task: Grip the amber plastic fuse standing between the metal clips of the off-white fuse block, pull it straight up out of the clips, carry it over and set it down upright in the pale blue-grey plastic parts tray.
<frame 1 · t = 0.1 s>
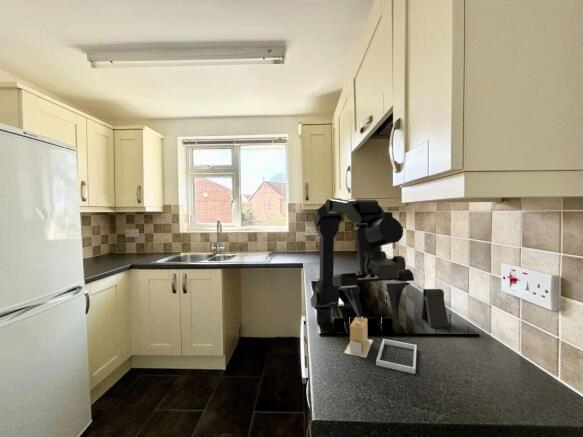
hand: (377, 315, 63), 15 cm above the worktop, tool pointing down, fingers open, 9 cm apart
parts tray: (397, 359, 73), on the worktop
phone stand: (433, 323, 97), on the worktop
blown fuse: (359, 346, 78), point 1 cm above the worktop, touching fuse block
external hard drive: (327, 304, 119), on the worktop
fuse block: (359, 348, 78), on the worktop
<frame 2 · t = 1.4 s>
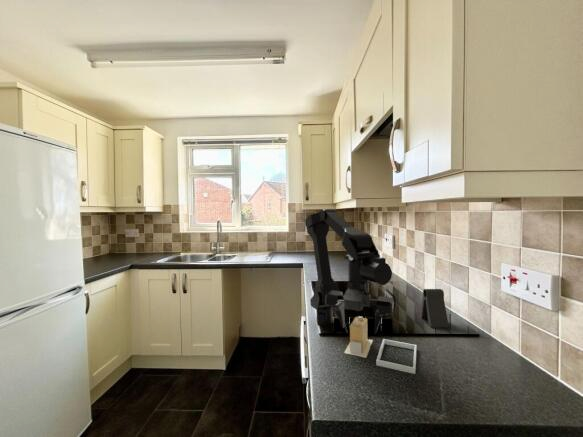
hand: (358, 330, 78), 5 cm above the worktop, tool pointing down, fingers open, 9 cm apart
nothing on the worktop moved.
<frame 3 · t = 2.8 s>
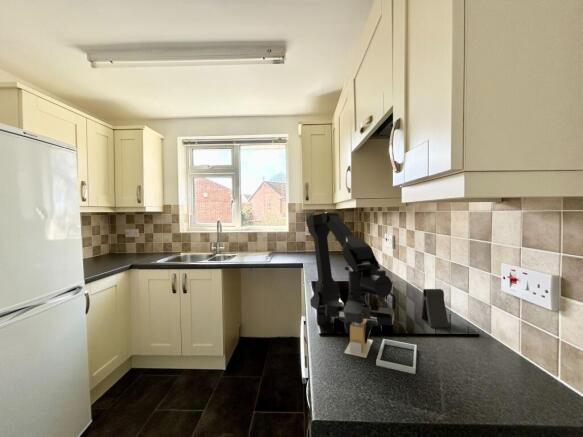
hand: (359, 341, 78), 2 cm above the worktop, tool pointing down, fingers closed on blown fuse, 3 cm apart
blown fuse: (359, 346, 78), point 1 cm above the worktop, touching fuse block, gripper
everything else where it was.
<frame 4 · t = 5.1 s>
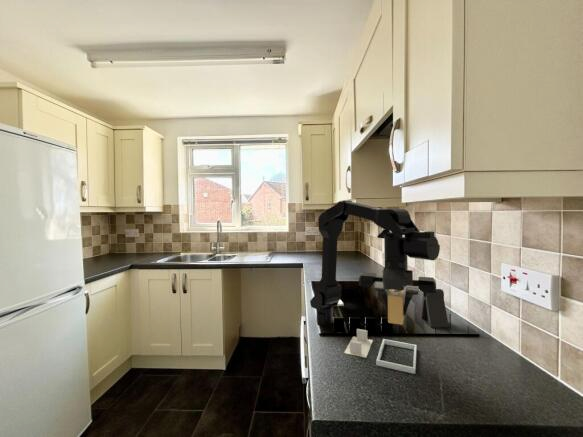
hand: (396, 314, 72), 12 cm above the worktop, tool pointing down, fingers closed on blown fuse, 3 cm apart
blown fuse: (396, 319, 72), point 11 cm above the worktop, touching gripper
everything else where it was.
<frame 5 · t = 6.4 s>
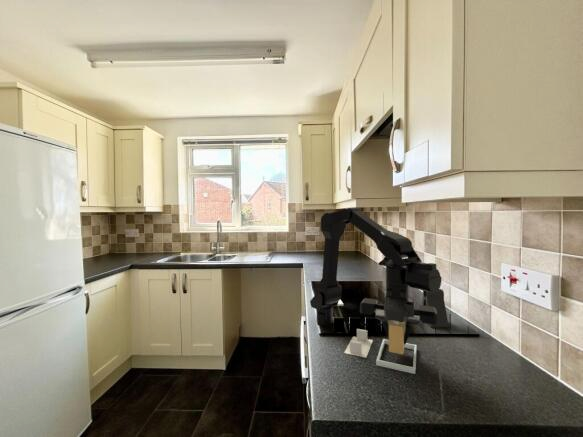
hand: (397, 342, 73), 5 cm above the worktop, tool pointing down, fingers closed on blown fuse, 3 cm apart
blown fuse: (397, 346, 72), point 3 cm above the worktop, touching gripper
everything else where it was.
when the fingers open (3 cm above the worktop, at t = 7.4 s): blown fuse drops 1 cm, resting on parts tray.
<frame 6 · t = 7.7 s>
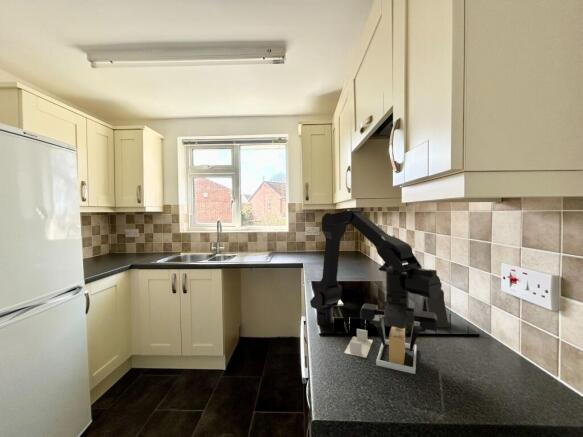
hand: (397, 347, 73), 3 cm above the worktop, tool pointing down, fingers open, 6 cm apart
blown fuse: (397, 358, 73), resting on parts tray
everything else where it was.
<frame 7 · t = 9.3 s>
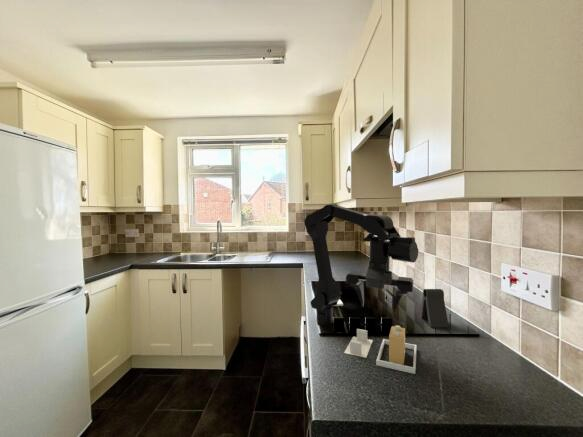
hand: (378, 309, 81), 10 cm above the worktop, tool pointing down, fingers open, 9 cm apart
nothing on the worktop moved.
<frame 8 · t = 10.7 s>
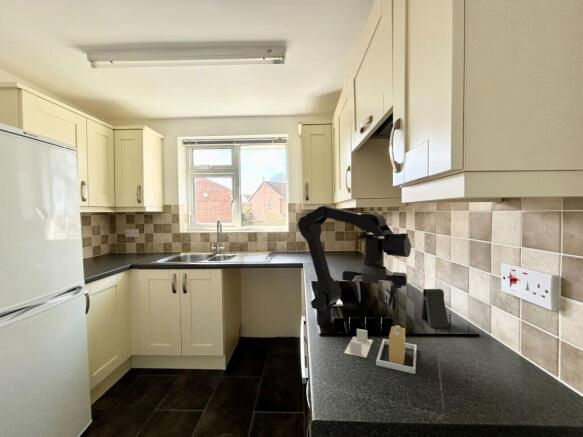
hand: (374, 304, 84), 11 cm above the worktop, tool pointing down, fingers open, 9 cm apart
nothing on the worktop moved.
at the end: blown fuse 0.0 cm off-centre on the parts tray, point 0.4 cm above the parts tray's base; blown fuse tilted 0°; the gripper is holding nothing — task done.
